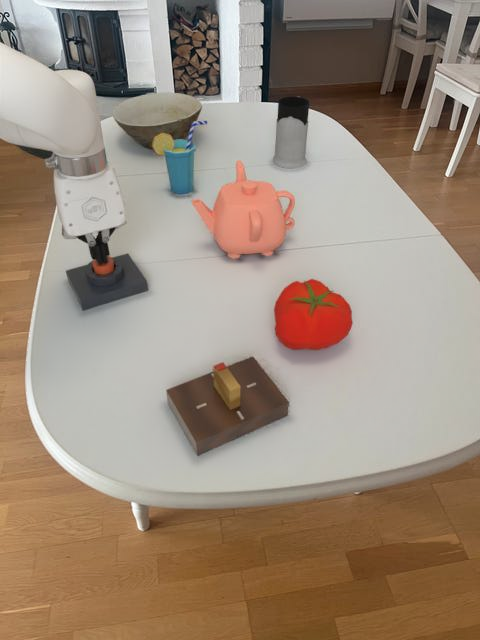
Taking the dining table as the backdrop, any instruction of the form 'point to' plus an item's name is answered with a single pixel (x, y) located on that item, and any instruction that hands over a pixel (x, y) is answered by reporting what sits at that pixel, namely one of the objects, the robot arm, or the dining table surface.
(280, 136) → the glass holder
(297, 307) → the tomato
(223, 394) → the lock knob
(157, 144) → the cup
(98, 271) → the round orange push button
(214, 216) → the teapot
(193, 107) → the bowl
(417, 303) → the dining table surface
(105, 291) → the button box
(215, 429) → the plate
